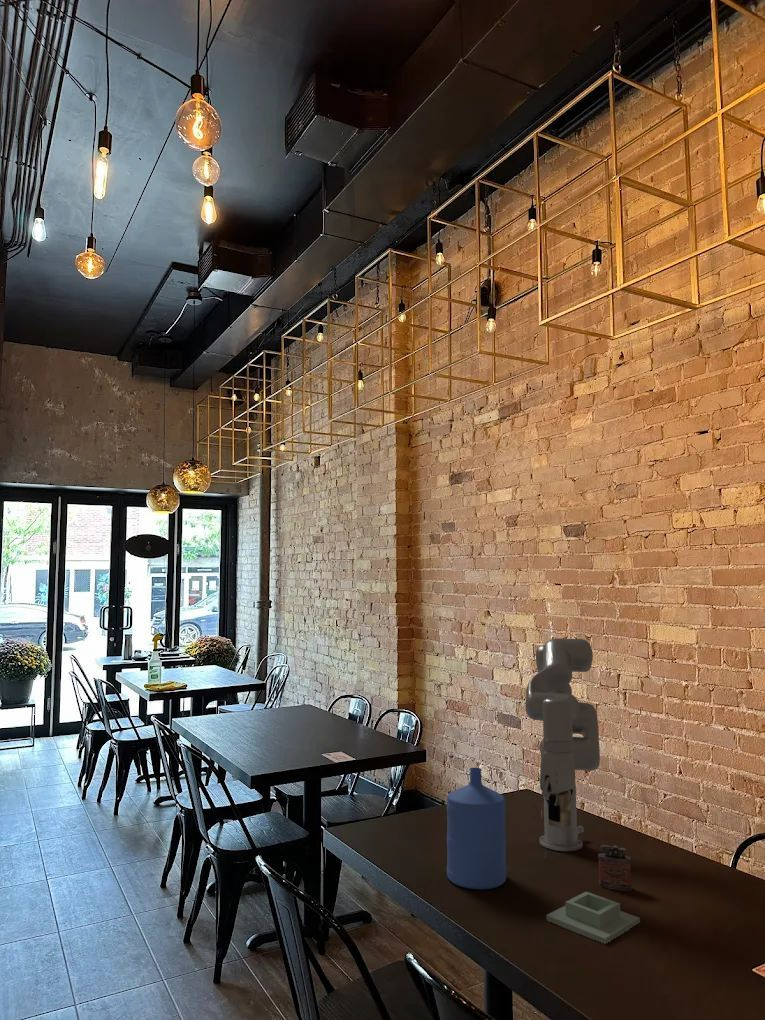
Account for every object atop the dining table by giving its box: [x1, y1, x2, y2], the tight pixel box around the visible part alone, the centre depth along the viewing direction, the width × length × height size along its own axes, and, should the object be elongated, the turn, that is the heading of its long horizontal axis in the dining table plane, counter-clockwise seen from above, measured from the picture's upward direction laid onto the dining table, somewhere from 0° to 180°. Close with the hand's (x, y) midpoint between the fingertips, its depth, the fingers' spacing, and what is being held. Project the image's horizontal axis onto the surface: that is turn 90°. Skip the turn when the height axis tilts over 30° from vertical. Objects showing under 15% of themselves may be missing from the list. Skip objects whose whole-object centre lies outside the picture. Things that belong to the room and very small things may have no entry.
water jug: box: [446, 767, 507, 890], centre depth 189 cm, size 16×16×28 cm
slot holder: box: [546, 891, 641, 945], centre depth 164 cm, size 15×15×4 cm
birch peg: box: [549, 792, 571, 828], centre depth 185 cm, size 4×4×8 cm
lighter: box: [597, 844, 633, 891], centre depth 184 cm, size 8×3×10 cm, turn 71°
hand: (559, 818), depth 185 cm, fingers closed on birch peg, 3 cm apart
